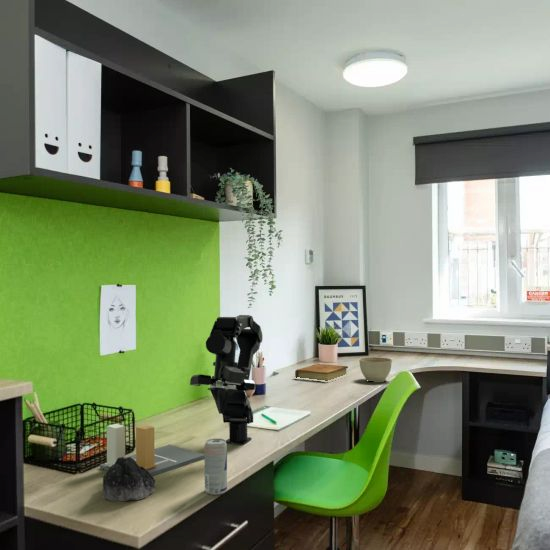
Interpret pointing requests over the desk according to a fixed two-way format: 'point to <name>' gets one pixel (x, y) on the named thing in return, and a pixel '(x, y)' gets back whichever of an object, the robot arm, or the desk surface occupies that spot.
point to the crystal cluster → (127, 481)
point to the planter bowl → (375, 368)
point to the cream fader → (115, 443)
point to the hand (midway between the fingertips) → (221, 413)
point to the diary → (321, 372)
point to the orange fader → (145, 446)
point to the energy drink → (215, 466)
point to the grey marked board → (169, 459)
